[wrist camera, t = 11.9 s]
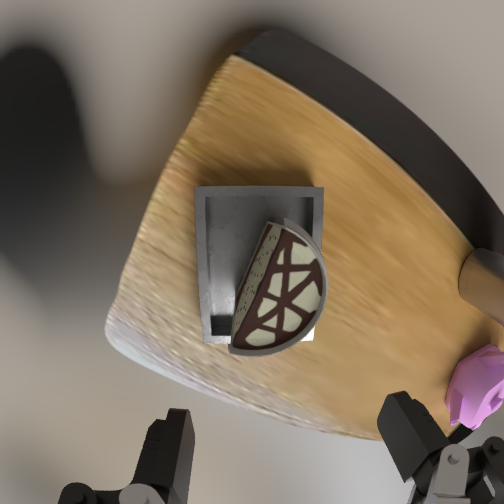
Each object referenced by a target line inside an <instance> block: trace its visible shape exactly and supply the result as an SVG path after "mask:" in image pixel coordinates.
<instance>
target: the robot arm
mask: <svg viewBox="0 0 504 504" xmlns="http://www.w3.org/2000/svg"><path fill="white" fill-rule="evenodd" d="M459 292H460V295H461V297H462V298H463V299H464V300H465V301H467V302H468V303H470V304H471V305H473V306H475V307H476V308H478V309H479V310H480V311H482V312H483V313H485V314H486V315H488V316H489V317H491V318H492V319H494V320H495V321H497V322H498V323H500V324H501V325H503V326H504V256H503V255H500V254H498V253H495V252H493V251H490V250H487V249H485V248H477V249H475V250H474V251H473V252H472V253H471V254H470V255H469V256H468V258H467V259H466V261H465V263H464V265H463V267H462V270H461V274H460V278H459ZM377 426H378V430H379V432H380V434H381V436H382V438H383V440H384V442H385V444H386V446H387V448H388V450H389V452H390V454H391V456H392V458H393V460H394V462H395V464H396V466H397V468H398V471H399V473H400V475H401V477H402V479H403V481H404V483H406V482H409V481H411V480H414V481H415V484H414V486H413V488H412V491H411V494H410V497H409V500H408V503H407V504H504V441H503V440H502V439H501V438H499V437H495V436H494V437H490V438H488V439H487V440H486V441H485V442H484V443H483V445H482V446H480V447H475V448H470V449H466V448H465V447H463V446H461V445H458V444H451V443H450V442H449V440H448V439H447V437H446V436H445V434H444V433H443V432H442V430H441V429H440V427H439V426H438V424H437V423H436V421H434V419H433V417H432V416H431V414H429V412H428V410H427V409H426V407H425V406H424V405H423V404H422V403H420V402H419V401H417V400H416V399H413V400H412V399H411V397H410V396H409V394H408V393H407V392H406V391H400V392H396V393H392V394H389V395H387V397H386V399H385V402H384V404H383V406H382V409H381V411H380V413H379V416H378V419H377ZM145 439H146V440H145V441H144V444H143V449H142V451H141V454H140V457H139V461H138V464H137V467H136V471H135V474H134V477H133V480H132V482H131V483H130V484H129V485H128V486H126V487H125V488H123V489H121V490H116V491H97V490H92V489H91V488H90V487H89V486H87V485H86V484H83V483H78V482H76V483H70V484H68V485H67V486H65V487H64V489H63V490H62V492H61V495H60V498H59V501H58V504H187V499H188V491H189V483H190V476H191V468H192V461H193V453H194V445H195V433H194V428H193V424H192V419H191V415H190V411H189V410H188V409H176V408H170V409H169V411H168V414H167V418H166V420H160V419H156V421H154V422H153V424H152V425H151V426H150V427H149V428H148V431H147V434H146V438H145ZM486 475H487V477H488V479H489V480H490V482H491V484H492V486H493V488H494V489H495V497H493V496H492V494H491V492H490V490H489V488H488V487H487V485H486V483H485V481H484V479H483V478H484V477H485V476H486Z"/></svg>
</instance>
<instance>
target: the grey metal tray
mask: <svg viewBox="0 0 504 504" xmlns="http://www.w3.org/2000/svg"><path fill="white" fill-rule="evenodd" d="M323 199H324V187H307V186H263V185H237V186H197V187H195V225H196V250H197V269H198V285H199V299H200V312H201V324H202V335H203V343H230V341H231V332H232V322H233V312H234V303H235V296H236V294H237V291H238V289H239V287H240V284H241V282H242V280H243V277H244V275H245V272H246V270H247V268H248V265H249V263H250V261H251V258H252V256H253V254H254V251H255V249H256V247H257V244H258V242H259V239H260V237H261V235H262V232H263V230H264V228H265V225H266V223H267V221H270V222H273V223H276V224H280V225H283V226H285V222H284V218H287V219H289V220H291V221H293V222H295V223H296V224H297V225H299V226H300V227H301V228H303V229H304V230H305V231H306V232H307V233H308V234H309V235H310V236H311V237H312V238H313V240H314V241H315V243H316V244H317V246H318V247H319V249H320V252H321V245H322V226H323ZM313 335H314V328H313V329H312V330H311V331H310V332H309V334H308V335H307V336H306V337H304V338H303V339H302V340H301V341H309V340H313Z"/></svg>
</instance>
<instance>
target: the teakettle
mask: <svg viewBox="0 0 504 504" xmlns="http://www.w3.org/2000/svg"><path fill="white" fill-rule="evenodd" d="M503 398H504V352H501V351H500V350H499V349H498V348H497V347H496V346H494V345H491V344H487V345H485V346H483V347H482V348H480V349H478V350H477V351H475V352H473V353H472V354H470V355H468V356H467V357H465V358H464V359H462V360H461V361H459V363H458V364H457V366H456V368H455V371H454V373H453V376H452V378H451V381H450V384H449V387H448V391H447V394H446V399H445V404H446V407H447V409H448V411H449V412H450V426H451V425H454V424H456V423H458V421H460V422H461V423H462V424H464V425H465V426H466V427H468V428H471V429H472V430H474V429H476V428H477V427H479V426H480V424H481V423H482V421H483V419H484V418H486V417H487V416H488V415H490V414H491V413H492V412H494V411H496V410H497V409H498V408H499V407H500V406H501V404H502V402H503Z"/></svg>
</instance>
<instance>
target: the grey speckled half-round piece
mask: <svg viewBox="0 0 504 504" xmlns="http://www.w3.org/2000/svg"><path fill="white" fill-rule="evenodd" d="M284 222H285V226H283V225H280V224H276V223H273V222H270V221H267V223H266V225H265V228H264V230H263V232H262V235H261V237H260V239H259V242H258V244H257V247H256V249H255V251H254V254H253V256H252V258H251V261H250V263H249V265H248V268H247V270H246V272H245V275H244V277H243V280H242V282H241V284H240V287H239V289H238V291H237V294H236V296H235V303H234V312H233V322H232V332H231V341H230V344H228V350H229V352H230V353H229V354H232V355H237V356H243V357H262V356H268V355H273V354H276V353H279V352H282V351H284V350H286V349H288V348H290V347H292V346H294V345H295V344H297V343H298V342H300V341H301V340H302V339H303V338H304V337H306V336H307V335H308V334H309V332H310V331H311V330H312V329H313V328H314V326H315V325H316V323H317V322H318V320H319V319H320V317H321V314H322V312H323V310H324V307H325V304H326V300H327V296H328V274H327V270H326V266H325V262H324V259H323V256H322V254H321V252H320V249H319V247H318V246H317V244H316V243H315V241H314V240H313V238H312V237H311V236H310V235H309V234H308V233H307V232H306V231H305V230H304V229H303V228H301V227H300V226H299V225H297V224H296V223H295V222H293V221H291V220H289V219H287V218H284Z"/></svg>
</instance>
